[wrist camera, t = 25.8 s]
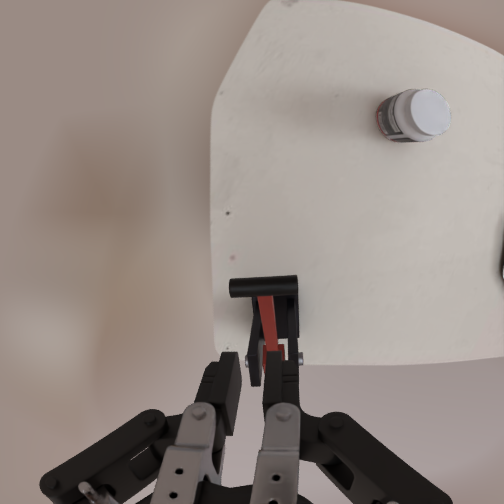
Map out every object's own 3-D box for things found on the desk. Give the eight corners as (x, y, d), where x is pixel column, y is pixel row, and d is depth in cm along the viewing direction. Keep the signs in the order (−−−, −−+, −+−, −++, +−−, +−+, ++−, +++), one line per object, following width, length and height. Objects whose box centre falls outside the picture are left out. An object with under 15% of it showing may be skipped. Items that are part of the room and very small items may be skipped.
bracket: (251, 284, 40) (239, 340, 28) (297, 281, 40) (303, 337, 28) (256, 335, 43) (248, 398, 31) (298, 333, 42) (303, 396, 30)
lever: (230, 270, 23) (227, 294, 22) (296, 266, 23) (298, 290, 21) (252, 357, 33) (251, 376, 31) (297, 355, 32) (298, 374, 31)
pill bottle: (422, 114, 31) (463, 107, 22) (405, 151, 33) (443, 153, 24) (385, 89, 31) (418, 72, 21) (367, 126, 33) (397, 119, 23)
